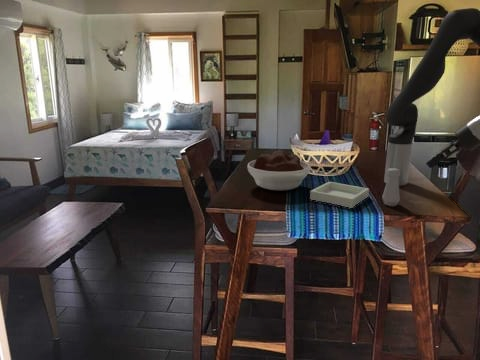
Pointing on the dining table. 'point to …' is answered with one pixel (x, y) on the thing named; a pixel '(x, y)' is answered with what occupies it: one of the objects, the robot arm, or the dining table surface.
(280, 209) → the dining table surface
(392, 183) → the salt shaker
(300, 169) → the white bowl of pudding
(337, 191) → the tray
